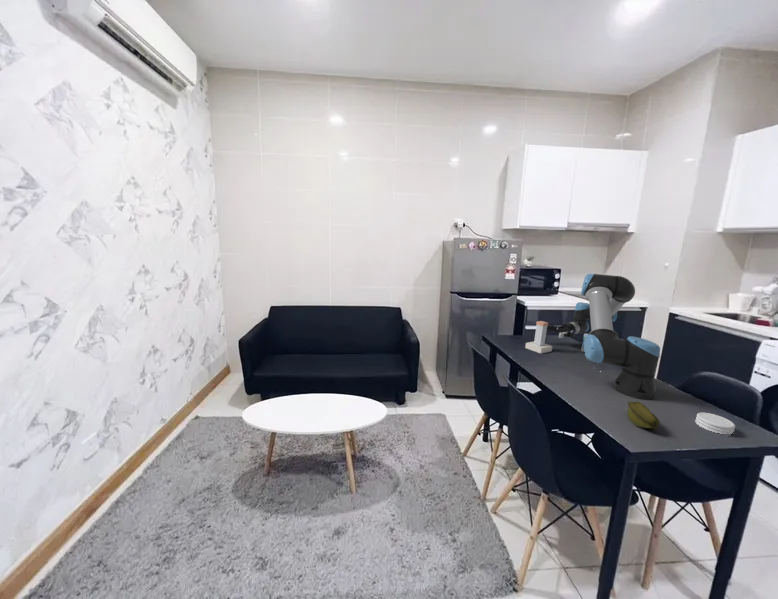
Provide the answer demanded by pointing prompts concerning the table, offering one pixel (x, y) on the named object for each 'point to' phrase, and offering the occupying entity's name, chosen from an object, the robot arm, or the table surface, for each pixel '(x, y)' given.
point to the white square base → (538, 347)
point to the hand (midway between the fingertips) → (548, 332)
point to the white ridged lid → (714, 423)
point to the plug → (540, 333)
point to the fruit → (642, 416)
